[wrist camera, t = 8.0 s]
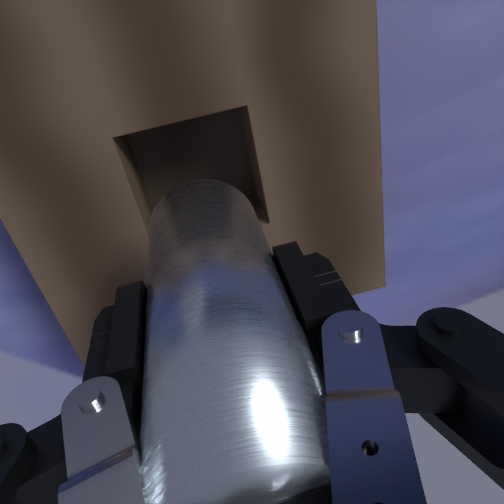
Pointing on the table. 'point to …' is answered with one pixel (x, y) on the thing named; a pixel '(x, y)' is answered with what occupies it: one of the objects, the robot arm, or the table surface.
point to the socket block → (185, 133)
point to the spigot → (225, 361)
